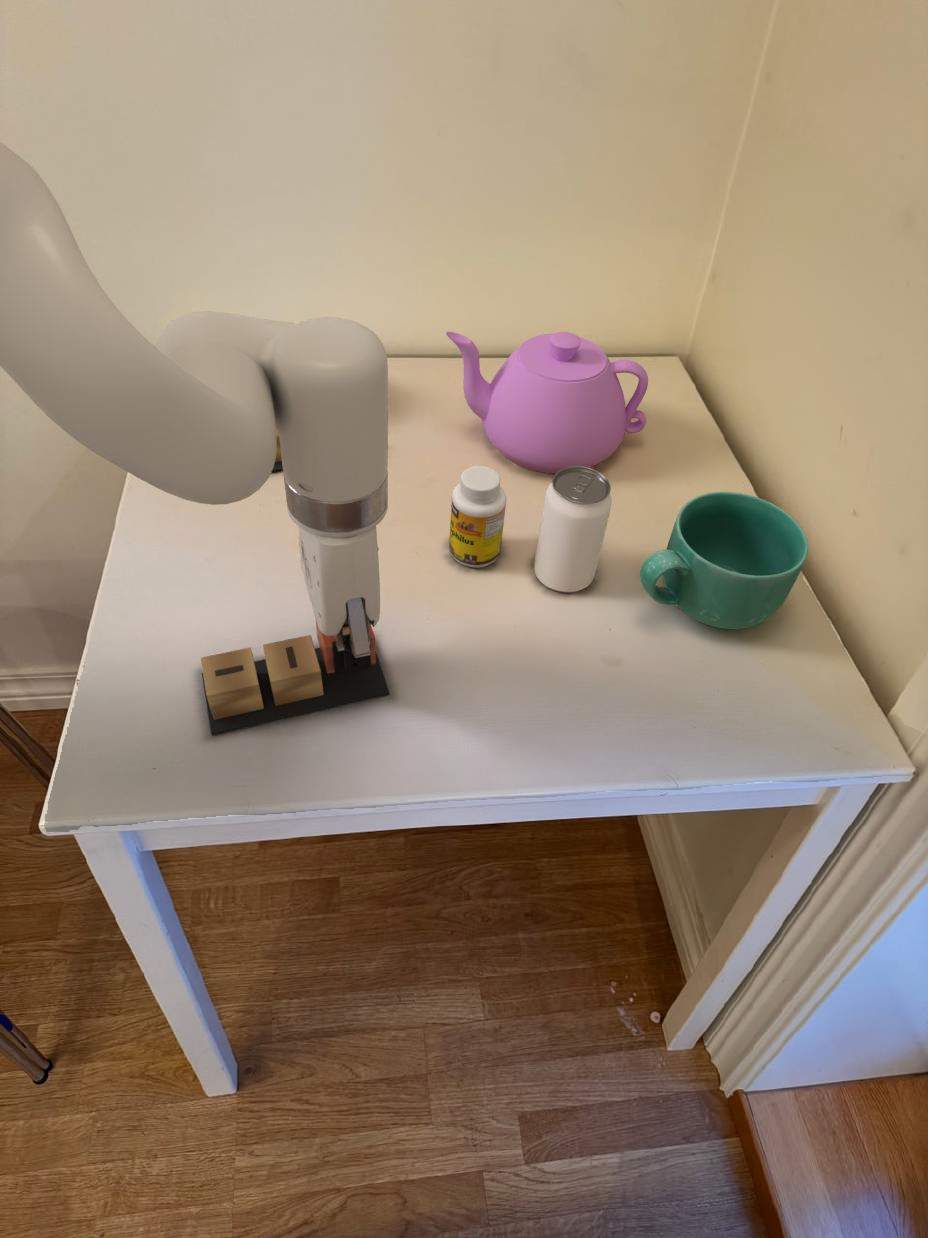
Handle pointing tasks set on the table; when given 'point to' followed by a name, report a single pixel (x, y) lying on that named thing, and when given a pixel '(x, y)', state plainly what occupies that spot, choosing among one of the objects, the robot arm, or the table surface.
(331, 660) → the striped orange cube
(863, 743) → the table surface
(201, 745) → the table surface
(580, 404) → the teapot
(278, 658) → the wooden cube
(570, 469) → the can
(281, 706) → the front mat
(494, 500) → the supplement bottle
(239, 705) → the wooden cube
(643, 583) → the mug
